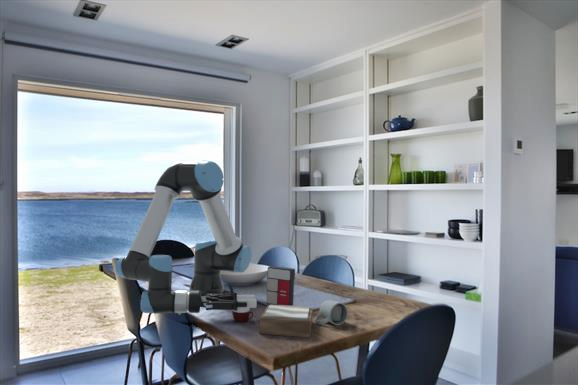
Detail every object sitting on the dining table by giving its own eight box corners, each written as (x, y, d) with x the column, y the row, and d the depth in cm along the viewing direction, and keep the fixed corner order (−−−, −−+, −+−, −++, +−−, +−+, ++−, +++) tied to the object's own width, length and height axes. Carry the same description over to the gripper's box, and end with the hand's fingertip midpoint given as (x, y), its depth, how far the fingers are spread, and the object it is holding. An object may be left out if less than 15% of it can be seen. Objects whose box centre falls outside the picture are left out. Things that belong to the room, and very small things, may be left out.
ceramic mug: (334, 317, 152) (334, 296, 152) (347, 323, 145) (348, 301, 145) (309, 321, 147) (310, 300, 147) (323, 328, 140) (323, 305, 140)
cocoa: (255, 322, 144) (258, 288, 144) (241, 325, 139) (245, 290, 140) (237, 315, 150) (240, 282, 151) (223, 318, 146) (227, 284, 146)
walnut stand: (267, 319, 147) (267, 303, 147) (311, 322, 145) (312, 306, 145) (259, 333, 131) (260, 316, 131) (309, 337, 129) (310, 319, 130)
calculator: (265, 304, 168) (266, 267, 168) (270, 301, 172) (271, 265, 172) (289, 308, 163) (290, 270, 163) (293, 305, 167) (295, 268, 167)
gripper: (190, 305, 151) (253, 304, 155) (185, 320, 132) (257, 319, 136) (191, 284, 151) (253, 284, 155) (186, 297, 133) (258, 297, 136)
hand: (255, 301), depth 146 cm, fingers closed on cocoa, 6 cm apart
